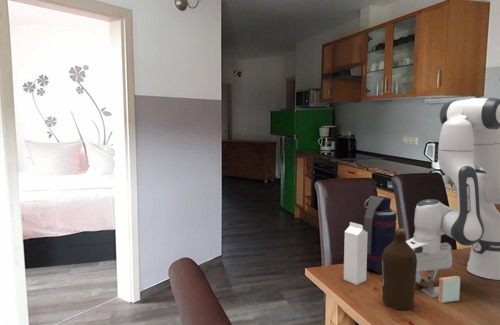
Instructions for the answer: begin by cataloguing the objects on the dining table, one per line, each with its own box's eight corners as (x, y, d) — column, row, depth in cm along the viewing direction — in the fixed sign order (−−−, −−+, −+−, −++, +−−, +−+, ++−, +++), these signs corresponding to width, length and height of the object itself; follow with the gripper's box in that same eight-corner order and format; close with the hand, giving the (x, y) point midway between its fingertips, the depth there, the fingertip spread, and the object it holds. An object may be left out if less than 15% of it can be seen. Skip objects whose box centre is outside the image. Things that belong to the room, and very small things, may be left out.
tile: (455, 298, 128) (457, 275, 127) (459, 300, 126) (460, 277, 125) (438, 300, 126) (439, 278, 125) (441, 303, 125) (442, 279, 124)
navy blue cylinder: (376, 261, 162) (378, 192, 159) (400, 270, 152) (403, 197, 149) (354, 268, 154) (355, 196, 151) (378, 278, 144) (380, 201, 141)
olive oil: (419, 302, 125) (422, 228, 123) (408, 314, 117) (411, 236, 115) (387, 292, 132) (390, 223, 130) (375, 304, 124) (377, 230, 122)
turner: (420, 277, 145) (420, 270, 145) (449, 294, 131) (449, 286, 130) (404, 279, 144) (404, 271, 143) (432, 297, 129) (432, 288, 129)
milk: (353, 275, 147) (354, 220, 145) (366, 280, 142) (368, 223, 140) (343, 279, 144) (344, 223, 141) (356, 285, 139) (357, 226, 137)
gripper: (444, 239, 141) (442, 274, 143) (396, 244, 137) (395, 280, 138) (457, 244, 135) (455, 281, 137) (408, 249, 130) (406, 288, 132)
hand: (425, 281), depth 137 cm, fingers open, 3 cm apart
